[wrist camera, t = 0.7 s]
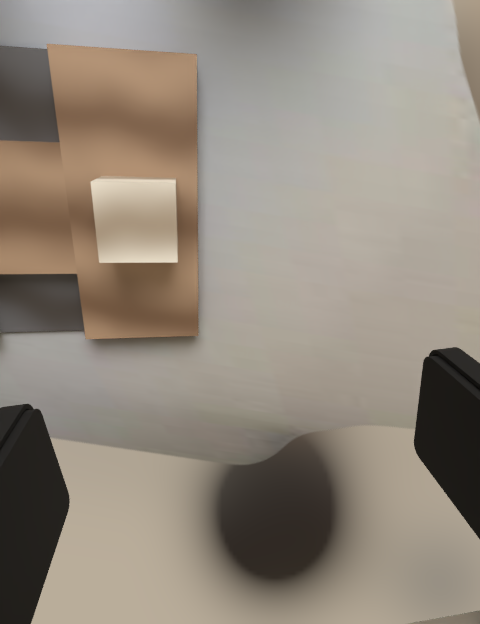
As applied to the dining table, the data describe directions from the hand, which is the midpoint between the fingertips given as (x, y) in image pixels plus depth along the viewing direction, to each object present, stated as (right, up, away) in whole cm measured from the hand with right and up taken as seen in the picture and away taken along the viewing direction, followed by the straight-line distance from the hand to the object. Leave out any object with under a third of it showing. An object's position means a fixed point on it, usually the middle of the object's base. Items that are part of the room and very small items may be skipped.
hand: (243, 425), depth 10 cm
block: (-7, +10, +19) cm, 22 cm away
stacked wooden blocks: (-16, +10, +19) cm, 27 cm away
